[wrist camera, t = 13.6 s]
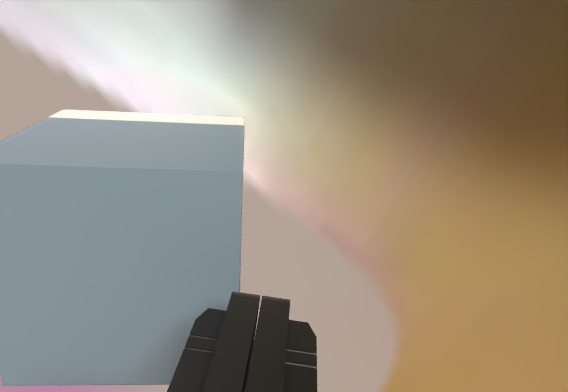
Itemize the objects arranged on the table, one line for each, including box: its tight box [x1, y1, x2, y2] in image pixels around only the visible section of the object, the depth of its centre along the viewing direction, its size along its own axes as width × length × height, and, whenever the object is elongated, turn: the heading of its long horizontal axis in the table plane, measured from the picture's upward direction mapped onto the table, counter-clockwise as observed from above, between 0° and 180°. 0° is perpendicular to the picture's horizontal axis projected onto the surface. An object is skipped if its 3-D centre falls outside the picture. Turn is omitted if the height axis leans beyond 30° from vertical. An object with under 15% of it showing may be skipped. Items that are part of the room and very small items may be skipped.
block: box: [0, 110, 245, 386], centre depth 16 cm, size 7×7×7 cm
